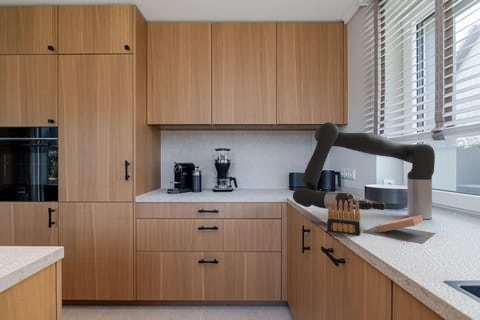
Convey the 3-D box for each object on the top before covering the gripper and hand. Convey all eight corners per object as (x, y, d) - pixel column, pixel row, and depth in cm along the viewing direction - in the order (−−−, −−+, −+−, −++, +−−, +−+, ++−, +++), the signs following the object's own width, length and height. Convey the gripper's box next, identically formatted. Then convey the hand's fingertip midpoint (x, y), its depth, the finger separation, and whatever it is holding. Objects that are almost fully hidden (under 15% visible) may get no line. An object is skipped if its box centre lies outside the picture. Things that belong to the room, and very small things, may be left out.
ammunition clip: (326, 233, 95) (326, 198, 95) (328, 232, 97) (328, 198, 97) (359, 237, 90) (359, 201, 90) (360, 236, 92) (360, 200, 92)
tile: (385, 222, 101) (420, 214, 93) (388, 228, 101) (423, 221, 93) (375, 226, 94) (412, 219, 86) (378, 232, 94) (415, 225, 86)
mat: (380, 225, 106) (380, 224, 106) (436, 234, 93) (436, 233, 93) (361, 234, 94) (361, 232, 94) (422, 245, 81) (422, 243, 81)
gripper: (330, 193, 105) (377, 198, 92) (346, 191, 114) (391, 194, 101) (330, 213, 105) (377, 220, 92) (346, 208, 114) (391, 214, 101)
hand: (384, 206), depth 97 cm, fingers closed
